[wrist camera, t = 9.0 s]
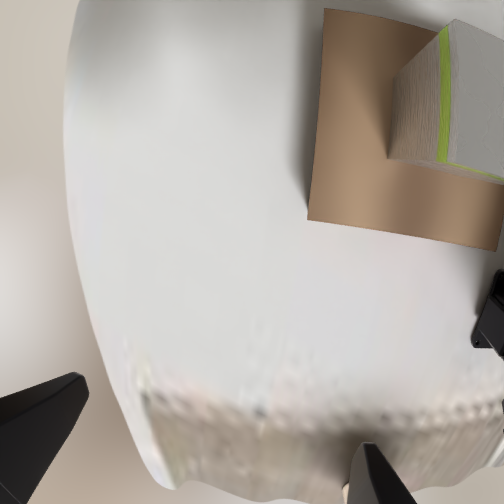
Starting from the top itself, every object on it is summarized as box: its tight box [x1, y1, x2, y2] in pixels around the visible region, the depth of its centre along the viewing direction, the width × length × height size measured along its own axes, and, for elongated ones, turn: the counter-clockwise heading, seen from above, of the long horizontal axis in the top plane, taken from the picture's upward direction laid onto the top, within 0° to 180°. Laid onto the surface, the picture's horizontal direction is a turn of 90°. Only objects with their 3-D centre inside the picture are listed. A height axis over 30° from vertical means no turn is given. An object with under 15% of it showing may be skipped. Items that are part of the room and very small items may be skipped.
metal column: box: [387, 19, 504, 185], centre depth 9 cm, size 4×4×8 cm
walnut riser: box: [307, 8, 504, 252], centre depth 14 cm, size 12×12×3 cm
